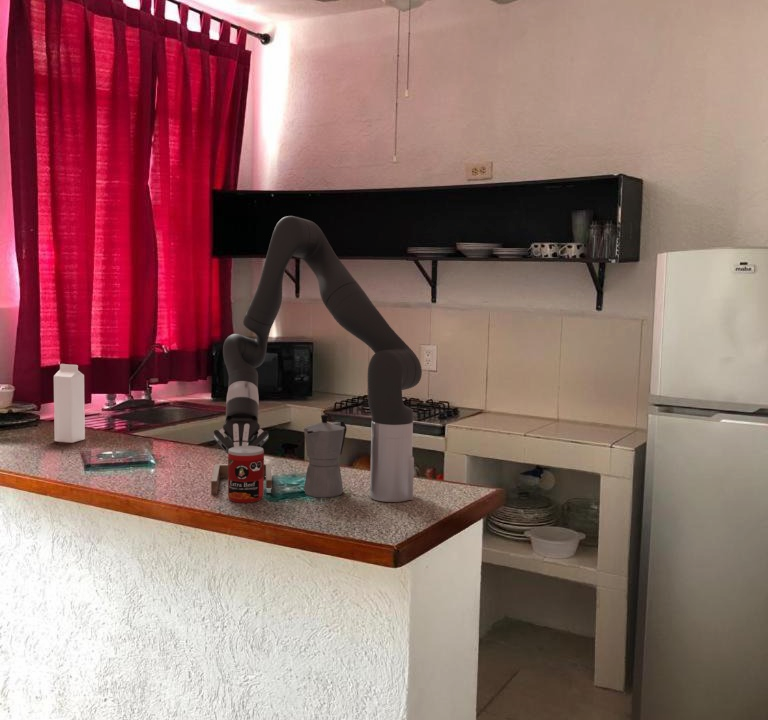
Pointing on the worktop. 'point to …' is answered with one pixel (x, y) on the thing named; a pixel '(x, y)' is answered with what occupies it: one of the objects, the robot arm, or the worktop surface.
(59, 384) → the milk
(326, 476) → the coffeepot
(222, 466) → the walnut u-shaped block
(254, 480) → the canned food
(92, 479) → the worktop surface
